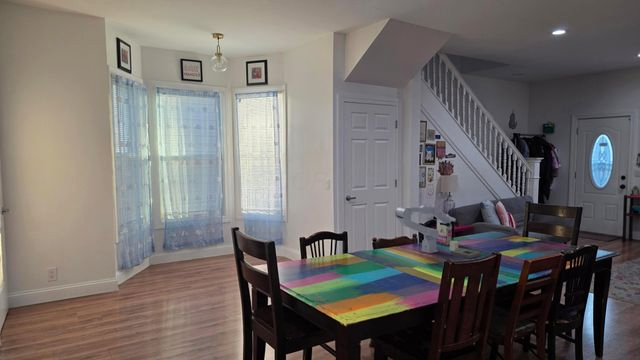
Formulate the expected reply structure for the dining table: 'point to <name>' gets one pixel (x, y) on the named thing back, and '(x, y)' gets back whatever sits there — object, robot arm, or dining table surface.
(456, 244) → the charger
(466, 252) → the power strip
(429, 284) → the dining table surface
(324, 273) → the dining table surface
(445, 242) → the candy bar box
